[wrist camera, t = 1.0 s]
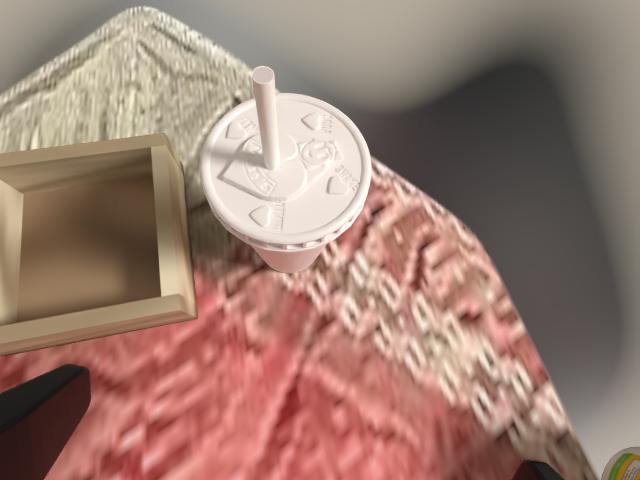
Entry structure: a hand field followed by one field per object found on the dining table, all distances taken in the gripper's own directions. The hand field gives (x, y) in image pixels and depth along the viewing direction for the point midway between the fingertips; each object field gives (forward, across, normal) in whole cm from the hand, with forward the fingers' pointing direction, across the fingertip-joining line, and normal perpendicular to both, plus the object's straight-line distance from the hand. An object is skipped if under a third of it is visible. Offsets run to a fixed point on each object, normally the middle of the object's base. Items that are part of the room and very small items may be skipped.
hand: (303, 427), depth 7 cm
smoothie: (+15, +2, +2) cm, 16 cm away
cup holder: (+13, +13, +4) cm, 19 cm away
